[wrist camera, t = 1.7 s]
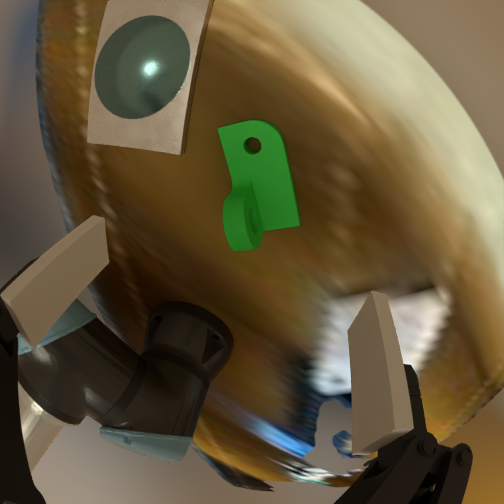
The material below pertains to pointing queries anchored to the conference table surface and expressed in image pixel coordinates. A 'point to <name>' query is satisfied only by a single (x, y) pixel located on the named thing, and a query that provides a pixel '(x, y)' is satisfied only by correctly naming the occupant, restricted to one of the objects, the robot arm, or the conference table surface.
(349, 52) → the conference table surface
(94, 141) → the carrier plate
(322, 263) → the conference table surface
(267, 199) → the mechanical part
